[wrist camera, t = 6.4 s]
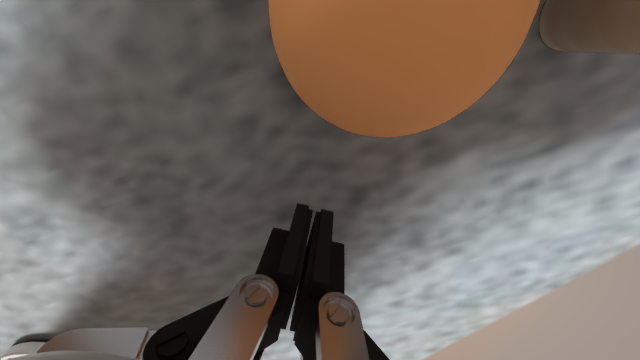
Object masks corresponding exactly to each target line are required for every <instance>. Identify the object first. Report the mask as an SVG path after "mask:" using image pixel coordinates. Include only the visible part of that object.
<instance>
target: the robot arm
mask: <svg viewBox="0 0 640 360" xmlns="http://www.w3.org/2000/svg"><path fill="white" fill-rule="evenodd" d="M312 212H313V210H310V209H309V206H307V205H303V204H299V203H297V207H296V210H295V214H294V217H293V220H292V224H291V227H290V231H287V230H282V229H278V228H273V230H272V232H271V235H270V237H269V240H268V243H267V245H266V248H265V250H264V253H263V256H262V258H261V261H260V263H259V266H258V269H257V271H256V274H253V275H249V276H247V277H245V278H243V279H242V280H241V281H240V282H239V283H238V284H237V285H236V287H235V289H234V290H233V292H232V293H231V295H230V296H228V297H226V298H224V299H222V300H220V301H217V302H215V303H213V304H211V305H209V306H207V307H204V308H202V309H200V310H198V311H196V312H194V313H191V314H189V315H187V316H185V317H183V318H181V319H178V320H176V321H174V322H172V323H170V324H168V325H166V326H164V327H162V328H161V329H159V330H149V329H148V327H127V328H78V329H72V330H68V331H65V332H63V333H61V334H58V335H56V336H55V337H53V338H52V339H50V340H49V341H47V342H33V341H32V342H25V343H20V344H17V345H14V346H12V347H11V348H10V349H8V350H7V351H6V352H5V353H4V354H3V355H2V356H0V360H262V358H263V355H264V353H265V349H266V348H267V347H268V346H270V345H271V344H273V343H274V342H276V341H277V340H278V337H279V333H280V329H286V326H287V322H288V319H289V315H290V312H291V308H292V305H293V301H294V298H295V294H296V291H297V294H296V300H295V305H294V310H293V315H292V321H291V326H290V331H294V332H295V333H294V339H293V341H295V345H296V347H297V348H298V350H299V352H300V353H301V357H300V360H389V359H388V357H387V356H386V355H385V354H384V353H383V352H382V350H381V349H380V348H379V347H378V346H377V345H376V344H375V342H374V341H373V340H372V339H371V338H370V337H369V335H368V334H367V333H366V332H365V331H364V330H363V326H362V321H361V317H360V312H359V309H358V306H357V305H356V304H355V302H354V301H353V300H352V299H351V298H350V297H349V296H347V295H345V294H344V244H341V243H337V242H333V241H332V228H333V212H332V211H328V210H323V209H322V210H321V212H318V211H316V214H315V218H314V221H313V225H312V229H311V232H310V236H309V240H308V243H307V239H308V234H309V228H310V223H311V218H312ZM306 244H307V247H306ZM298 283H299V284H298ZM297 287H298V289H297Z"/></svg>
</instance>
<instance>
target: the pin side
mask: <svg viewBox="0 0 640 360" xmlns="http://www.w3.org/2000/svg"><path fill="white" fill-rule="evenodd" d="M539 31H540V35H541V38H542V40H543V42H544V43H545V44H546V45H547V46H548V47H550V48H551V49H554V50H557V51H565V52H592V53H618V54H640V0H546V2H545V4H544V6H543V9H542V12H541V15H540V20H539Z"/></svg>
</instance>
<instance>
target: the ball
mask: <svg viewBox="0 0 640 360" xmlns="http://www.w3.org/2000/svg"><path fill="white" fill-rule="evenodd" d="M268 2H269V19H270V28H271V33H272V39H273V43H274V47H275V50H276V53H277V56H278V59H279V62H280V64H281V66H282V68H283V70H284V73H285V75H286V77H287V79H288V80H289V82H290V84H291V85H292V87H293V89H294V90H295V91H296V93H297V94H298V95H299V96H300V98H301V99H302V100H303V101H304V102H305V103H306V104H307V105H308V106H309V107H310V108H311V109H312V110H313V111H314V112H315V113H316V114H318V115H319V116H321V117H322V118H323V119H325V120H326V121H328V122H330V123H331V124H333V125H335V126H337V127H339V128H341V129H344V130H346V131H349V132H351V133H355V134H359V135H363V136H371V137H400V136H406V135H412V134H415V133H419V132H422V131H425V130H428V129H431V128H434V127H436V126H438V125H440V124H442V123H444V122H447V121H448V120H450V119H452V118H453V117H455V116H456V115H458V114H459V113H461V112H462V111H464V110H466V109H467V108H469V107H470V106H471V105H472V104H473V103H475V102H476V101H477V100H478V99H479V98H481V97H482V96H483V95H484V94H485V93H486V92H487V91H488V90H489V89H490V88H491V87H492V86H493V84H494V83H495V82H496V81H497V80H498V79H499V78H500V77H501V76H502V74H503V73H504V71H505V70H506V69H507V67H508V66H509V64H510V63H511V62H512V60H513V59H514V57H515V56H516V54H517V53H518V51H519V49H520V47H521V45H522V44H523V42H524V40H525V38H526V36H527V34H528V31H529V29H530V26H531V24H532V21H533V19H534V17H535V14H536V12H537V9H538V6H539V2H540V0H268Z"/></svg>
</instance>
